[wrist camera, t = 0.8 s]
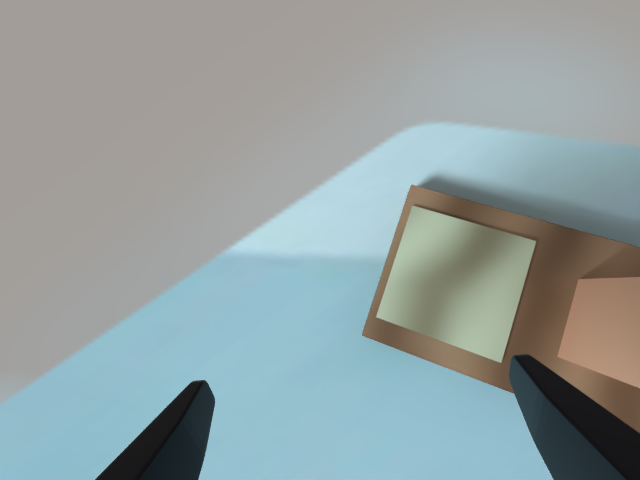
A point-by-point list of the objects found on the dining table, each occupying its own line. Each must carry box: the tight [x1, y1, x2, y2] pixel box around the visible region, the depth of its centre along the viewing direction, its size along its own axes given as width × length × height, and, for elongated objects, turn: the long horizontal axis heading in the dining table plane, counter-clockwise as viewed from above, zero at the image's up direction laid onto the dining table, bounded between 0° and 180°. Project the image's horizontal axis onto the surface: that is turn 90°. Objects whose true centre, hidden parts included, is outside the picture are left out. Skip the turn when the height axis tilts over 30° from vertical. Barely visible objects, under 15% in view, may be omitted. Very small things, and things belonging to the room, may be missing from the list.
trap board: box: [362, 185, 640, 433], centre depth 20 cm, size 30×11×2 cm, turn 71°
